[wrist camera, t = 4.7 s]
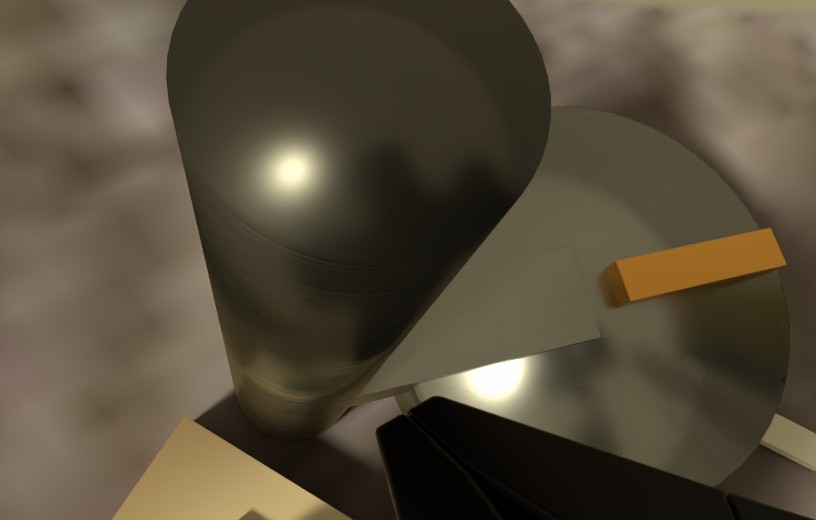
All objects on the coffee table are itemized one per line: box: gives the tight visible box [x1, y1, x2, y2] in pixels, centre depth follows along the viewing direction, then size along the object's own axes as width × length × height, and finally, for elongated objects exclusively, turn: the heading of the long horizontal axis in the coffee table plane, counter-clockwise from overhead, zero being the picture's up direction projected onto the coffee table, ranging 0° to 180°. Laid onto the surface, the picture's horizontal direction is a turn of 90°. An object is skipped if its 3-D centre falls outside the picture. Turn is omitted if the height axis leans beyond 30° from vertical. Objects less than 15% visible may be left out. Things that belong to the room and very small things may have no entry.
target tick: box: [759, 413, 816, 471], centre depth 18 cm, size 2×1×1 cm, turn 65°
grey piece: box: [166, 0, 790, 487], centre depth 12 cm, size 12×9×12 cm
